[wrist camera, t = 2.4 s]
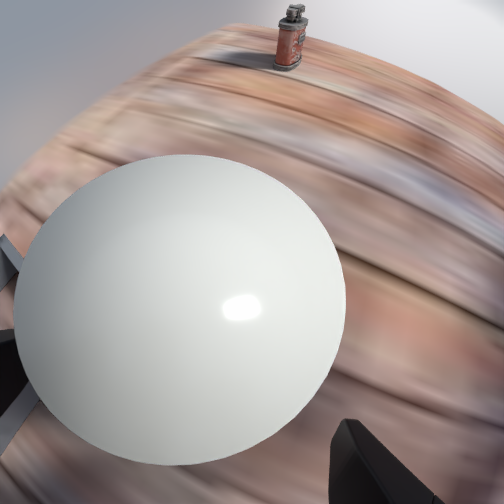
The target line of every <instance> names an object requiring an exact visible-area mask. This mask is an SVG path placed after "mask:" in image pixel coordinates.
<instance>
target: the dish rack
mask: <svg viewBox="0 0 504 504" xmlns="http://www.w3.org/2000/svg"><path fill="white" fill-rule="evenodd" d="M23 261H24V258H23V257H22V256H21V254H20V253H19V252H18V251H17V250H16V248H15V247H14V246H13V245H12V243H11V242H10V241H9V240H8V238H7V237H6V236H5V234H3V235H2V236H1V237H0V291H1V290H2V289H3V287H4V286H5V285H6V284H7V283H8V281H9V280H10V279H11V278H12V277H13V276H14V274H15V273H16V272H17V271H19V273H20V269H21V266H22V264H23ZM39 400H40V397H39V396H38V395H37V393H36V391H35V390H34V388H33V386H32V384H31V382H30V380H29V382H28V383H27V385H26V386H25V388H24V389H23V391H22V392H21V393H20V395H19V396H18V397H17V398H16V399H15V401H14V402H13V403H12V404H11V405H10V407H9V408H8V409H7V410H6V412H5V413H4V414H3V415H2V417H1V418H0V456H1V455H2V453H3V452H4V450H5V448H6V447H7V445H8V444H9V442H10V441H11V439H12V438H13V437H14V435H15V434H16V432H17V431H18V429H19V428H20V426H21V425H22V423H23V422H24V421H25V419H26V418H27V416H28V415H29V414H30V412H31V411H32V409H33V408H34V407H35V405H36V404H37V403H38V401H39Z"/></svg>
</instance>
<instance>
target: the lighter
mask: <svg viewBox="0 0 504 504" xmlns="http://www.w3.org/2000/svg"><path fill="white" fill-rule="evenodd" d="M304 12H305V6H304V5H302V4H298V5H290V6H289V8H288V9H287V13H286V15H287V17H286V18H283V19H281V20H280V21H279V26H278V27H279V28H280V29H279V37H278V45H277V52H276V59H275V61H274V64H273V68H274V69H276V70H278V71H283V72H289V71H291V70H293V69H295V68H297V67H298V66H299V65H300V63H301V59H302V55H301V51H302V46H303V41H304V40H305V34H306V32H305V28H306V26H307V24H308V19H307V18H304V17H301V15H302V13H304Z"/></svg>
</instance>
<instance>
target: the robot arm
mask: <svg viewBox="0 0 504 504" xmlns="http://www.w3.org/2000/svg"><path fill="white" fill-rule="evenodd" d="M28 382H29V379H28V377H27V375H26V372H25V370H24V367H23V364H22V362H21V359H20V356H19V353H18V348H17V343H16V338H15V332H14V329H7V330H0V418H1V417H2V415H3V414H4V413H5V412H6V410H7V409H8V408H9V407H10V405H11V404H12V403H13V402H14V401H15V399H16V398H17V397H18V396H19V395H20V393H21V392H22V391H23V389H24V388H25V386H26V385H27V383H28ZM328 494H329V504H445V503H444V502H443V501H442V500H440V499H439V498H438V497H437V496H436V495H434V493H433V492H432V491H431V490H430V489H428V488H427V487H426V486H425V485H424V484H423V483H422V482H421V481H420V480H419V479H418V478H417V477H416V476H415V475H414V474H413V473H412V472H410V471H409V470H408V469H407V468H406V467H405V466H404V465H403V464H402V463H401V462H400V461H399V460H398V459H397V458H396V457H395V456H394V455H393V454H392V453H391V452H390V451H389V450H388V449H387V448H386V447H385V446H384V445H383V444H382V443H381V442H380V441H379V440H378V439H377V438H376V437H375V436H374V435H373V434H372V433H371V432H370V431H369V430H368V429H367V428H366V427H365V426H364V425H363V424H362V423H361V422H360V421H359V420H356V419H343V420H342V421H341V423H340V425H339V427H338V429H337V431H336V432H335V434H334V436H333V438H332V441H331V446H330V468H329V487H328Z"/></svg>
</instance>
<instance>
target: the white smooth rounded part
mask: <svg viewBox="0 0 504 504" xmlns="http://www.w3.org/2000/svg"><path fill="white" fill-rule="evenodd" d="M345 311H346V297H345V283H344V278H343V273H342V267H341V264H340V261H339V258H338V255H337V252H336V249H335V247H334V245H333V243H332V241H331V239H330V237H329V235H328V233H327V231H326V229H325V228H324V226H323V225H322V223H321V222H320V220H319V219H318V218H317V216H316V215H315V214H314V212H313V211H312V210H311V209H310V208H309V207H308V206H307V205H306V203H305V202H304V201H303V200H302V199H300V198H299V197H298V196H297V195H296V194H295V193H294V192H292V191H291V190H290V189H289V188H287V187H286V186H284V185H283V184H282V183H280V182H279V181H277V180H276V179H274V178H272V177H270V176H268V175H267V174H265V173H263V172H261V171H259V170H257V169H254V168H252V167H249V166H247V165H244V164H241V163H238V162H234V161H231V160H227V159H222V158H217V157H211V156H202V155H169V156H160V157H154V158H149V159H144V160H140V161H136V162H133V163H130V164H126V165H123V166H121V167H118V168H116V169H114V170H111V171H109V172H107V173H105V174H103V175H101V176H99V177H97V178H95V179H94V180H92V181H90V182H89V183H87V184H86V185H84V186H83V187H81V188H80V189H78V190H77V191H76V192H75V193H73V194H72V195H71V196H70V197H69V198H67V199H66V200H65V201H64V202H63V203H62V204H61V205H60V206H59V207H58V208H57V209H56V210H55V211H54V212H53V213H52V214H51V216H50V217H49V218H48V219H47V221H46V222H45V223H44V224H43V226H42V227H41V229H40V230H39V232H38V233H37V235H36V237H35V238H34V240H33V241H32V243H31V245H30V247H29V249H28V252H27V254H26V256H25V258H24V261H23V264H22V266H21V269H20V273H19V276H18V280H17V285H16V290H15V296H14V310H13V318H14V332H15V338H16V343H17V348H18V353H19V356H20V359H21V362H22V364H23V367H24V370H25V372H26V375H27V377H28V379H29V380H30V382H31V384H32V386H33V388H34V390H35V391H36V393H37V395H38V396H39V397H40V399H41V400H42V401H43V403H44V404H45V405H46V407H47V408H48V409H49V410H50V412H51V413H52V414H53V415H54V416H55V417H56V418H57V419H58V420H59V421H60V422H61V423H63V424H64V425H65V426H66V427H67V428H68V429H69V430H71V431H72V432H73V433H75V434H76V435H78V436H79V437H81V438H82V439H83V440H85V441H86V442H88V443H90V444H92V445H94V446H96V447H98V448H100V449H102V450H104V451H106V452H108V453H110V454H113V455H116V456H119V457H123V458H126V459H129V460H133V461H137V462H142V463H150V464H158V465H189V464H198V463H203V462H208V461H213V460H218V459H222V458H225V457H228V456H230V455H233V454H236V453H238V452H241V451H243V450H246V449H248V448H250V447H252V446H254V445H256V444H258V443H259V442H261V441H263V440H265V439H266V438H268V437H270V436H271V435H273V434H274V433H276V432H277V431H278V430H279V429H281V428H282V427H283V426H284V425H286V424H287V423H288V422H289V421H291V420H292V419H293V418H294V417H295V416H296V415H297V414H298V413H299V412H300V411H301V410H302V409H303V408H304V406H305V405H306V404H307V403H308V402H309V401H310V400H311V398H312V397H313V396H314V395H315V393H316V392H317V390H318V389H319V387H320V385H321V384H322V382H323V381H324V379H325V378H326V376H327V374H328V372H329V370H330V368H331V365H332V363H333V361H334V359H335V356H336V354H337V352H338V348H339V344H340V341H341V337H342V333H343V329H344V320H345Z"/></svg>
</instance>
